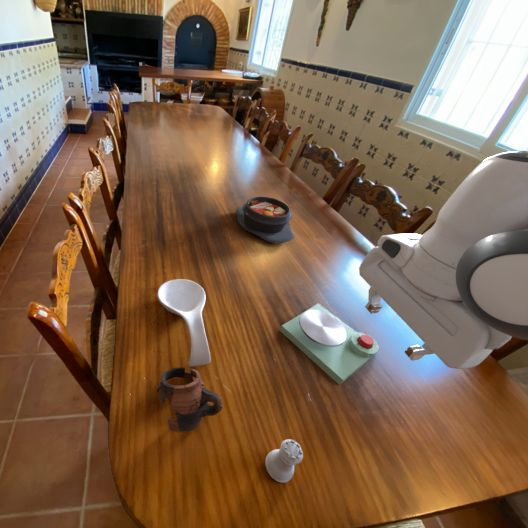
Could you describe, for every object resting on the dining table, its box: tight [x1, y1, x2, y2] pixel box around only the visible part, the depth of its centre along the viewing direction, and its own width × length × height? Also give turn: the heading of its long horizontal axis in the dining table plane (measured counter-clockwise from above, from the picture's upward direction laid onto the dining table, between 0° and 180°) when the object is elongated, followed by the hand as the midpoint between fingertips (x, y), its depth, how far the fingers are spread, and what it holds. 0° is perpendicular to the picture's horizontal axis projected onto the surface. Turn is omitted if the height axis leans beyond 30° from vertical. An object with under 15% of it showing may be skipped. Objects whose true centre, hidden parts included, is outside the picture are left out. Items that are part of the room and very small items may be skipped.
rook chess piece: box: [264, 438, 304, 484], centre depth 46 cm, size 4×4×8 cm
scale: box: [279, 303, 380, 386], centre depth 67 cm, size 16×14×4 cm
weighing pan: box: [299, 310, 346, 347], centre depth 67 cm, size 10×10×1 cm
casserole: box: [235, 195, 296, 244], centre depth 104 cm, size 25×19×8 cm
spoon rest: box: [156, 278, 212, 368], centre depth 68 cm, size 24×12×7 cm, turn 14°
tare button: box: [358, 334, 375, 349], centre depth 64 cm, size 3×3×2 cm
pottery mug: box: [156, 366, 224, 433], centre depth 54 cm, size 12×10×8 cm
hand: (389, 331), depth 50 cm, fingers open, 8 cm apart
